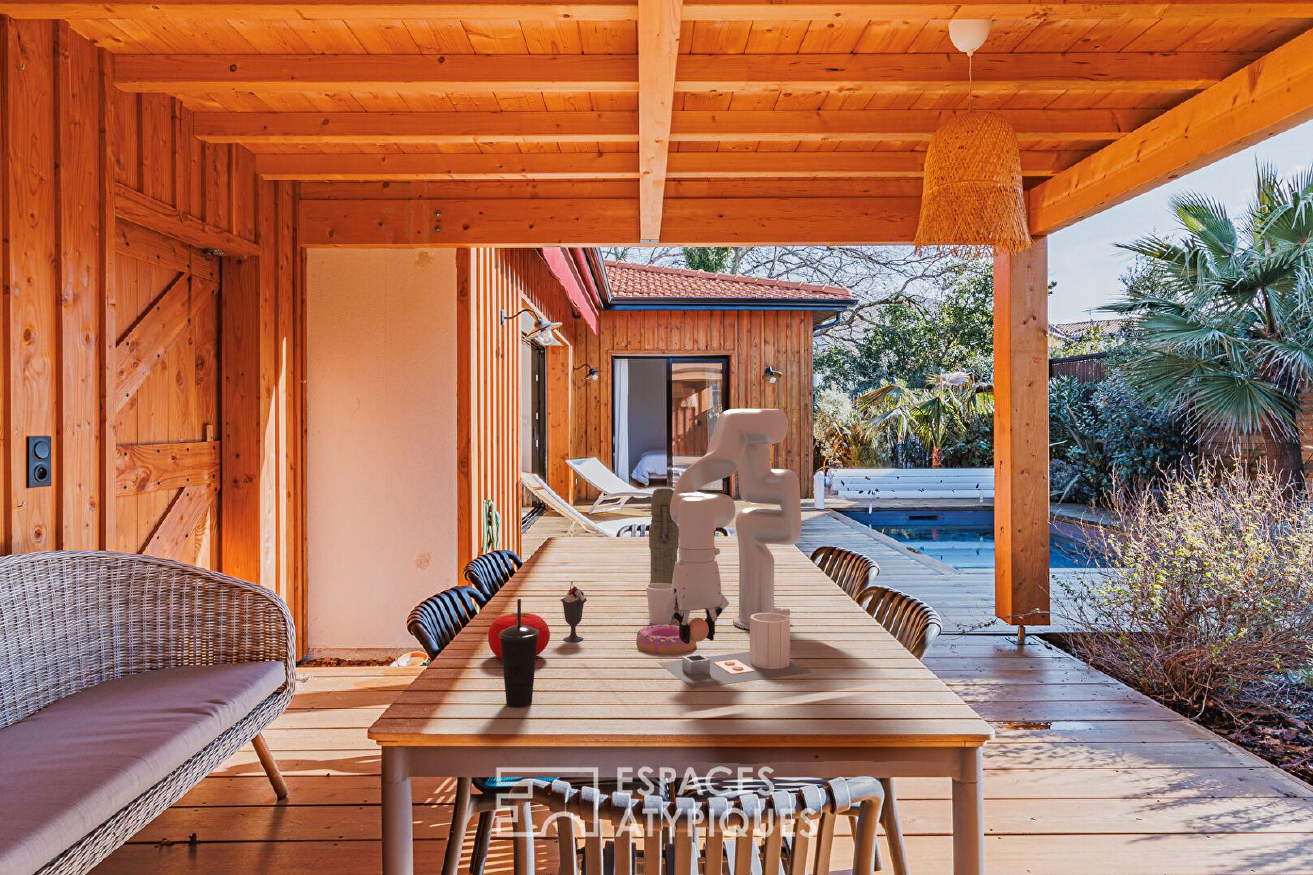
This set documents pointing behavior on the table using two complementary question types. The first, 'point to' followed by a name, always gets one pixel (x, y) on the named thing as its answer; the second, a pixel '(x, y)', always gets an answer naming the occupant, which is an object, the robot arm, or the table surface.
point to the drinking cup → (519, 661)
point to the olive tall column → (662, 537)
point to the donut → (662, 640)
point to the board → (730, 671)
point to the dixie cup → (659, 602)
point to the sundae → (573, 611)
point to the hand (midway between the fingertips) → (697, 639)
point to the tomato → (511, 620)
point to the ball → (698, 629)
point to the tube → (770, 640)
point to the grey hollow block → (696, 665)
